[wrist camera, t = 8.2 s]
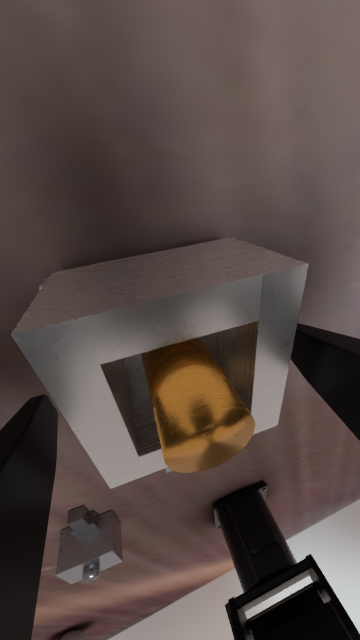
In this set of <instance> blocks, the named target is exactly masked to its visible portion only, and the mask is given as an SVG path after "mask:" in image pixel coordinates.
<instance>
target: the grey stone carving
mask: <svg viewBox="0 0 360 640" xmlns="http://www.w3.org/2000/svg"><path fill="white" fill-rule="evenodd" d="M60 640H87V639H86V637H85V635H84V634H83V633H82V632H81V631H79V630H72V631H69V632H67V633H66V634H65V635H64V636H62V638H61V639H60Z"/></svg>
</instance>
